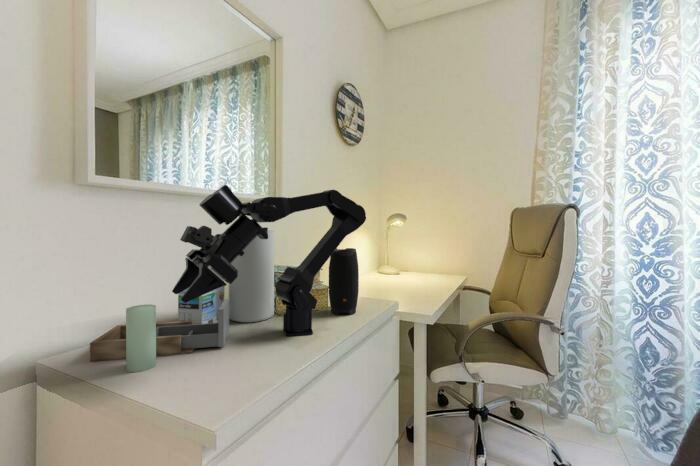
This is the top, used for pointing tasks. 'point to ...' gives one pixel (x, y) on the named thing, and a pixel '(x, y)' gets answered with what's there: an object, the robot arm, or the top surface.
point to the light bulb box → (201, 307)
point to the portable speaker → (343, 281)
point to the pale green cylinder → (140, 338)
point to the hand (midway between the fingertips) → (178, 296)
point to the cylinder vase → (253, 282)
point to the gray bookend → (201, 331)
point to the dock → (115, 343)
